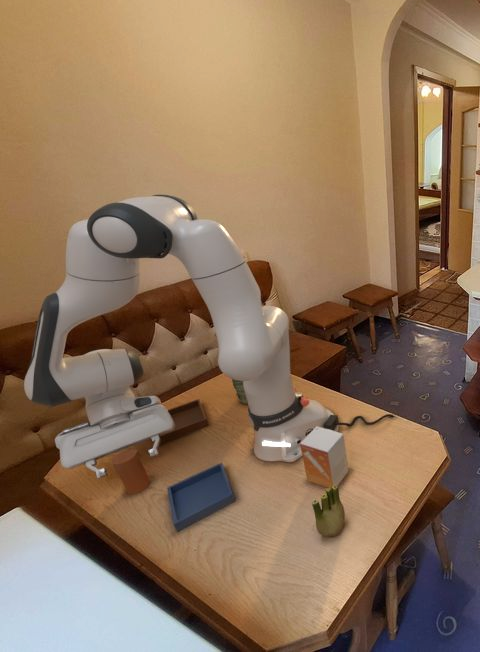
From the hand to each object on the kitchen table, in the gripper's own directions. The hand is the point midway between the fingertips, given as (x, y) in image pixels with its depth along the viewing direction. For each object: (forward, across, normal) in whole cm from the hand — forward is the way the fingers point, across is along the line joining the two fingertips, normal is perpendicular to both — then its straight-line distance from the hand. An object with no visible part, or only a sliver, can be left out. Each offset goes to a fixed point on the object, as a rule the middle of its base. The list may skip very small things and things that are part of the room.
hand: (129, 466), depth 86 cm
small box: (+25, +36, -16) cm, 46 cm away
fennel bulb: (+35, +31, -26) cm, 53 cm away
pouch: (-8, +31, +18) cm, 37 cm away
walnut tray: (-9, +11, +18) cm, 23 cm away
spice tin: (+5, 0, +4) cm, 6 cm away
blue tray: (+15, +11, -6) cm, 19 cm away
